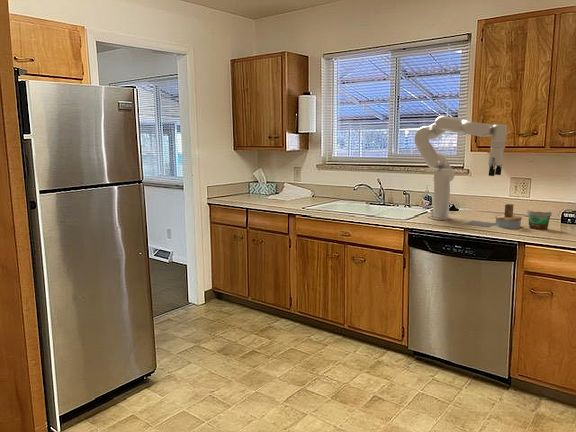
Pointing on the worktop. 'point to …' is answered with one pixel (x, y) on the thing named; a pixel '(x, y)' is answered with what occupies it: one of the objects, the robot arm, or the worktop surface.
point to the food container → (539, 220)
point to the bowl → (508, 223)
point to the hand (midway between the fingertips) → (494, 175)
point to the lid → (508, 214)
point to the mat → (480, 223)
